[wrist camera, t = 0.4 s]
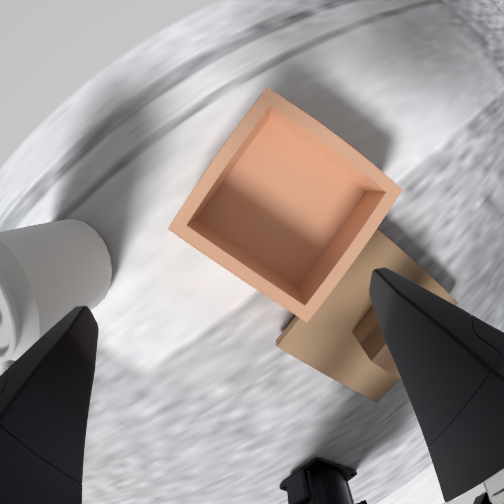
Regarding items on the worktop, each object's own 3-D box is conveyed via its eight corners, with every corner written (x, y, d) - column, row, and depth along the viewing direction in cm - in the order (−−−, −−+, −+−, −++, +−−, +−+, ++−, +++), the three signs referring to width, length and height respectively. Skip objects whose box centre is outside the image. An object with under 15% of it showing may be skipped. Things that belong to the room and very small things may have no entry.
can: (72, 198, 22) (-40, 210, 10) (134, 260, 22) (39, 319, 11) (35, 264, 23) (-62, 305, 11) (89, 322, 23) (6, 396, 12)
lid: (451, 298, 22) (489, 321, 17) (373, 396, 24) (393, 434, 18) (365, 221, 21) (397, 230, 16) (276, 340, 23) (281, 380, 17)
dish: (375, 189, 21) (402, 189, 17) (297, 298, 23) (307, 322, 18) (264, 108, 20) (267, 87, 16) (185, 221, 22) (167, 228, 17)
